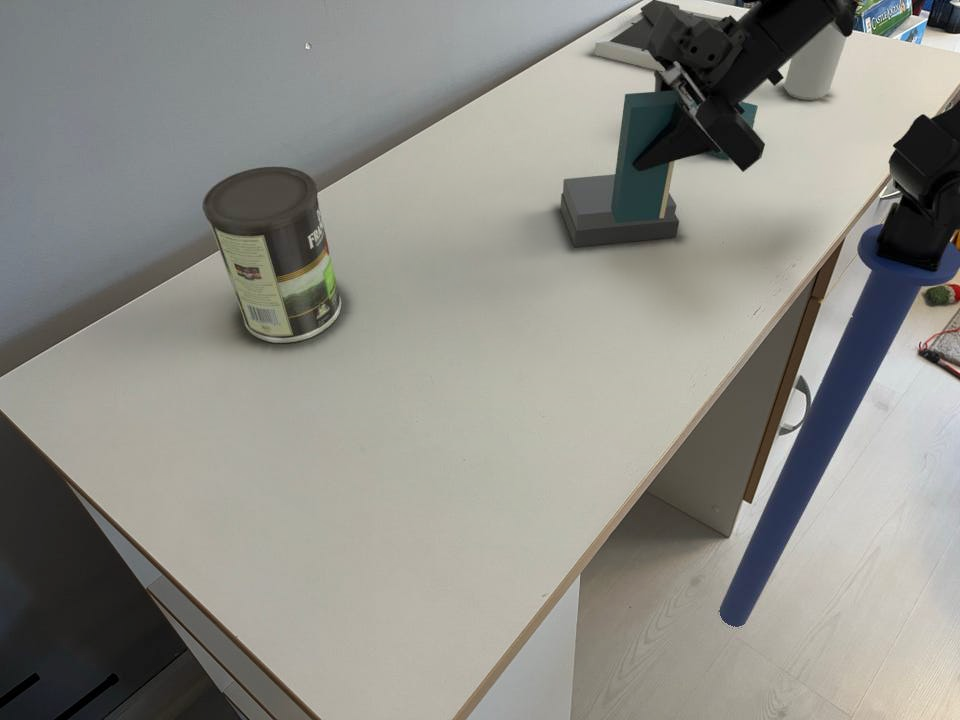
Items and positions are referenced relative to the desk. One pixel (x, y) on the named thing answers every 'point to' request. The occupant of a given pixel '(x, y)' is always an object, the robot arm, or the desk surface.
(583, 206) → the grey books
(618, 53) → the picture frame
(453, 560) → the desk surface
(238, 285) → the coffee can
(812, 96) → the beverage can
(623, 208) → the teal book
